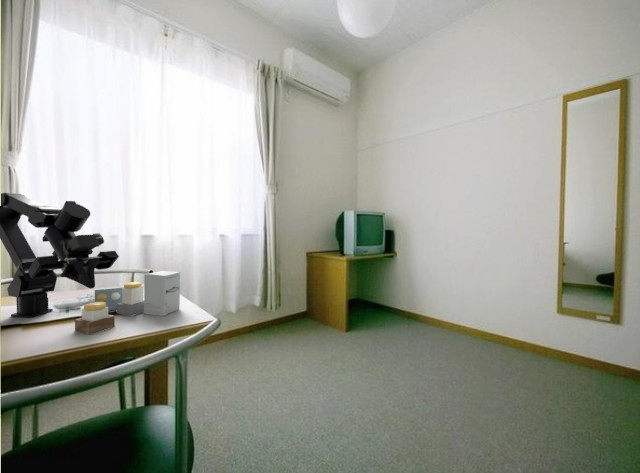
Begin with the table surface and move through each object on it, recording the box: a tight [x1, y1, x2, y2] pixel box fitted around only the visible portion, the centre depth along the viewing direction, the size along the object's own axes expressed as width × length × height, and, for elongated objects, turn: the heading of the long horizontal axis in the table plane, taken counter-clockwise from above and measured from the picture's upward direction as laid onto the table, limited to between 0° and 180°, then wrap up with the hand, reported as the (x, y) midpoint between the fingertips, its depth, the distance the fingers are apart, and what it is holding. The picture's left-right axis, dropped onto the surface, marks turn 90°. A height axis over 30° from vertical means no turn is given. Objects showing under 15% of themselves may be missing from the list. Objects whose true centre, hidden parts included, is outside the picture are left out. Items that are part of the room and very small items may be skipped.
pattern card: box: [94, 286, 123, 312], centre depth 90 cm, size 2×7×7 cm, turn 126°
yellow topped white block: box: [121, 281, 144, 305], centre depth 89 cm, size 5×5×6 cm
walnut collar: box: [74, 314, 116, 336], centre depth 75 cm, size 6×6×3 cm
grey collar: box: [116, 299, 144, 317], centre depth 89 cm, size 6×6×3 cm
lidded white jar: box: [81, 301, 109, 322], centre depth 75 cm, size 5×5×6 cm
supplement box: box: [143, 270, 181, 317], centre depth 90 cm, size 7×7×13 cm
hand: (92, 287), depth 75 cm, fingers closed
